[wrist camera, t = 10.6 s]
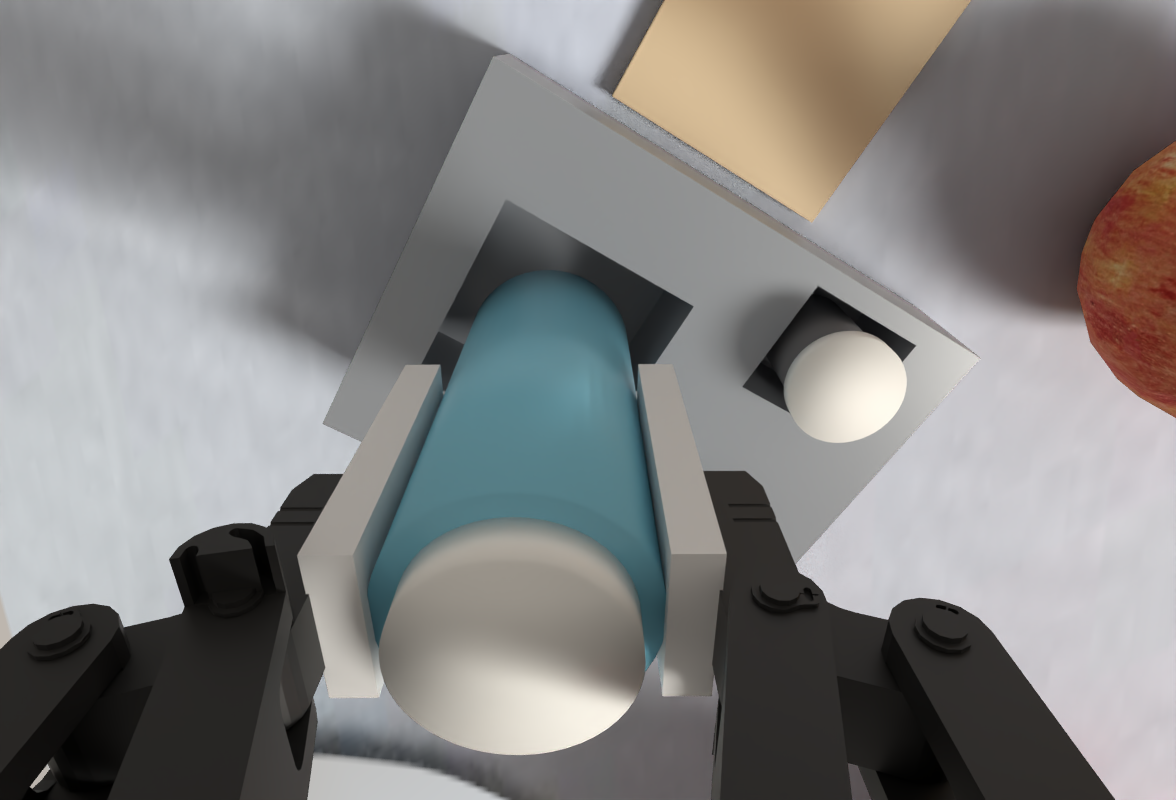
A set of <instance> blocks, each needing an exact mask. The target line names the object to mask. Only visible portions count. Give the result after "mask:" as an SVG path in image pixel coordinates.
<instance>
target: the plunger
mask: <svg viewBox="0 0 1176 800" xmlns="http://www.w3.org/2000/svg"><path fill="white" fill-rule="evenodd" d="M766 356H767V358H768V360H769V362H770V363H771V365H772V367H773V369H774V370H775V372H776V374H777V376H778V377H779V379H780V381H781V382H782V384H783V386H784V399H785V403H786V405H787V408H788V410H789V412H790V414H791V416H792V417H793V419H794V421H795V422H796V424H797V425H798V426H799V427H800V429H802V430H803V431H804V432H805V433H806V434H808V435H810V436H811V437H813V438H816V439H818V440H821V441H825V442H831V443H845V442H851V441H855V440H859V439H862V438H864V437H867V436H869V435H871V434H873V433H875V432H876V431H878V430H879V429H881V428H882V427H883V426H884V425H886V424H887V423H888V422H889V421H890V420H891V419H892V418H893V416H894V415H895V414H896V413H897V411H898V409H899V408H900V406H901V404H902V402H903V399H904V396H905V393H906V387H907V377H906V371H905V368H904V365H903V363H902V361H901V359H900V358H899V357H898V355H897V354H896V353H895V352H894V351H893V350H892V349H891V348H890V347H889V346H888V345H887V344H886V343H885V342H884V341H882V340H881V339H879V338H878V337H876V336H874V335H871V334H869V333H866V332H863V331H862V330H861V329H860V328H859V327H858V326H857V325H856V324H855V322H854V321H853V320H852V319H851V318H850V317H849V316H848V315H847V314H846V313H845V312H844V311H843V310H842V309H841V308H840V307H839V306H838V305H837V304H836V303H835V302H834V301H832V300H831V299H829V298H827V297H824V296H821V295H814V294H811V296H810V297H809V298H808V300H807V301H806V302H805V304H804V305H803V306H802V308H801V309H800V310H799V312H798V313H797V314H796V316H795V317H794V318H793V320H792V321H791V322H790V324H789V325H788V326H787V328H786V329H785V330H784V332H783V333H782V334H781V336H780V337H779V338H778V340H777V341H776V342H775V344H774V345H773V346H772V348H771V349H770V350H769V352H768V353H767V354H766Z"/></svg>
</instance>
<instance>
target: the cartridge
mask: <svg viewBox="0 0 1176 800" xmlns="http://www.w3.org/2000/svg"><path fill="white" fill-rule="evenodd" d="M367 596H368V602H369V607H370V613H371V619H372V624H373V630H374V635H375V641H376V643H377V645H378V647H379V664H380V670H381V673H382V677H383V680H384V682H385V684H386V687H387V689H388V691H389V693H390V694H391V696H392V697H393V699H394V700H395V701H396V703H397V704H398V705H399V706H400V708H401V709H402V710H403V711H404V712H405V713H406V714H407V715H408V716H409V717H410V718H412V719H413V720H414V721H415V722H416V723H417V724H419V725H420V726H422V727H423V728H425V729H426V730H428V731H429V732H431V733H433V734H435V735H437V736H438V737H440V738H442V739H444V740H447V741H449V742H452V743H454V744H456V745H459V746H463V747H466V748H469V749H472V750H477V751H482V752H487V753H494V754H503V755H531V754H541V753H548V752H553V751H557V750H561V749H566V748H569V747H572V746H574V745H577V744H580V743H583V742H585V741H587V740H589V739H591V738H593V737H595V736H597V735H598V734H600V733H602V732H603V731H605V730H606V729H608V728H609V727H610V726H611V725H613V724H614V723H615V722H616V721H618V720H619V719H620V718H621V717H622V716H623V714H624V713H625V712H626V711H627V710H628V709H629V707H630V706H631V705H632V703H633V702H634V700H635V699H636V697H637V695H638V693H639V691H640V689H641V685H642V682H643V679H644V674H645V671H646V670H647V669H648V667H649V666H650V664H651V663H652V662H653V660H654V659H655V657H656V655H657V653H658V651H659V649H660V647H661V645H662V642H663V636H664V621H665V605H666V590H665V583H664V577H663V570H662V563H661V557H660V550H659V544H658V537H657V531H656V524H655V517H654V511H653V504H652V498H651V491H650V485H649V478H648V471H647V465H646V458H645V452H644V445H643V439H642V432H641V425H640V419H639V412H638V406H637V398H636V391H635V385H634V378H633V372H632V365H631V359H630V352H629V345H628V339H627V333H626V328H625V325H624V322H623V319H622V316H621V314H620V312H619V310H618V309H617V307H616V306H615V304H614V303H613V301H612V300H611V299H610V298H609V297H608V296H607V294H606V293H605V292H604V291H602V290H601V289H600V288H599V287H597V286H596V285H595V284H593V283H591V282H590V281H588V280H586V279H584V278H582V277H580V276H578V275H574V274H571V273H568V272H563V271H557V270H539V271H532V272H528V273H524V274H521V275H518V276H515V277H513V278H511V279H509V280H507V281H506V282H504V283H503V284H501V285H500V286H498V287H497V288H496V289H495V290H494V291H493V292H492V293H490V295H489V296H488V297H487V298H486V299H485V301H484V302H483V304H482V305H481V307H480V308H479V310H478V312H477V315H476V317H475V319H474V322H473V324H472V327H471V329H470V332H469V334H468V337H467V339H466V342H465V344H464V347H463V349H462V352H461V354H460V357H459V359H458V361H457V364H456V366H455V369H454V371H453V374H452V376H451V379H450V381H449V384H448V386H447V389H446V391H445V394H444V396H443V399H442V401H441V404H440V406H439V408H438V411H437V413H436V416H435V418H434V421H433V423H432V426H431V428H430V431H429V433H428V436H427V438H426V441H425V443H424V446H423V448H422V451H421V453H420V455H419V458H418V460H417V463H416V465H415V468H414V470H413V473H412V475H411V478H410V480H409V483H408V485H407V488H406V490H405V493H404V495H403V498H402V500H401V502H400V505H399V507H398V510H397V512H396V515H395V517H394V520H393V522H392V525H391V527H390V530H389V532H388V535H387V537H386V540H385V542H384V545H383V547H382V549H381V552H380V554H379V557H378V559H377V562H376V564H375V567H374V569H373V572H372V574H371V578H370V582H369V586H368V593H367Z"/></svg>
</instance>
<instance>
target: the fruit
mask: <svg viewBox="0 0 1176 800" xmlns="http://www.w3.org/2000/svg"><path fill="white" fill-rule="evenodd" d="M1077 292H1078V295H1079V299H1080V303H1081V307H1082V311H1083V314H1084V318H1085V322H1086V326H1087V330H1088V334H1089V338H1090V342H1091V343H1092V345H1093V346H1094V348H1095V349H1096V350H1097V352H1098V353H1099V354H1100V356H1101V357H1102V359H1103V360H1104V361H1105V363H1106V364H1107V365H1108V367H1109V368H1110V369H1111V371H1112V372H1113V374H1114V375H1115V376H1116V378H1117V379H1118V380H1119V381H1120V382H1122V383H1123V384H1124V385H1125V386H1126V387H1128V388H1129V389H1130V390H1131V391H1132V392H1134V393H1135V394H1136V395H1137V396H1138V397H1140V398H1142V399H1144V400H1145V401H1147V402H1149V403H1151V404H1152V405H1154V406H1156V407H1158V408H1159V409H1161V410H1163V411H1165V412H1166V413H1168V414H1170V415H1172V416H1173V417H1175V418H1176V141H1175V142H1173V143H1172V144H1170V145H1169V146H1168V147H1166V148H1165V149H1163V150H1162V151H1161V152H1159V153H1158V154H1156V155H1155V156H1154V157H1152V158H1151V159H1149V160H1148V161H1147V162H1145V163H1144V164H1142V165H1141V166H1139V167H1138V168H1137V169H1135V170H1134V171H1133V172H1132V173H1131V174H1130V176H1129V177H1128V178H1127V179H1126V181H1125V182H1124V183H1123V185H1122V186H1121V187H1120V188H1119V190H1118V191H1117V192H1116V193H1115V195H1114V196H1113V197H1112V198H1111V200H1110V201H1109V202H1108V203H1107V205H1106V206H1105V207H1104V208H1103V210H1102V211H1101V212H1100V213H1099V215H1098V216H1097V217H1096V219H1095V221H1094V223H1093V225H1092V227H1091V230H1090V232H1089V235H1088V238H1087V240H1086V243H1085V246H1084V248H1083V251H1082V254H1081V262H1080V269H1079V276H1078V284H1077Z"/></svg>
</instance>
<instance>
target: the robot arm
mask: <svg viewBox="0 0 1176 800" xmlns="http://www.w3.org/2000/svg"><path fill="white" fill-rule="evenodd" d="M442 399H443V387H442V377H441V367H440V365H405V367H404V369H403V371H402V372H401V374H400V376H399V378H398V379H397V381H396V383H395V385H394V386H393V388H392V390H391V392H390V393H389V395H388V397H387V399H386V400H385V402H384V404H383V406H382V407H381V409H380V411H379V413H378V414H377V416H376V418H375V420H374V421H373V423H372V425H371V427H370V428H369V430H368V432H367V434H366V435H365V437H364V439H363V441H362V442H361V444H360V446H359V448H358V449H357V451H356V453H355V455H354V457H353V458H352V460H351V462H350V464H349V465H348V467H347V469H346V471H345V472H344V474H313V475H312V476H311V477H309V478H308V479H306V480H305V481H304V482H302V483H301V484H299V485H298V486H297V487H295V488H294V489H293V490H292V491H291V492H290V494H289V495H288V497H287V498H286V500H285V501H284V503H283V504H282V506H281V507H280V511H278V512H277V513H276V515H275V516H274V518H273V519H272V521H271V525H270V526H268V527H267V528H266V527H264V526H260V525H256V524H252V523H236V524H229V525H224V526H220V527H216V528H212V529H210V530H207V531H205V532H203V533H200V534H198V535H196V536H194V537H192V538H191V539H189V540H188V541H186V542H185V543H184V544H182V545H181V546H179V547H178V548H177V550H176V551H175V552H174V554H173V555H172V556H171V557H170V559H169V560H170V563H171V567H172V570H173V573H174V576H175V579H176V582H177V585H178V588H179V591H180V594H181V597H182V600H183V603H184V606H185V607H184V610H183V612H182V614H179V615H175V616H172V617H168V618H164V619H159V620H155V621H150V622H146V623H141V624H137V625H132V626H128V627H123V625H122V622H121V619H120V617H119V614H118V613H117V612H115V611H114V610H113V609H112V608H111V607H109V606H104V605H98V604H87V605H79V606H72V607H69V608H66V609H63V610H59V611H56V612H53V613H50V614H48V615H47V616H45V617H43V618H41V619H39V620H37V621H35V622H33V623H31V624H29V625H28V626H27V627H25V628H24V629H23V630H22V631H20V632H19V633H18V634H16V635H15V636H14V637H13V638H11V639H10V640H9V641H8V642H7V643H6V644H5V645H4V646H3V647H2V648H1V649H0V800H307V797H308V789H309V782H310V775H311V767H312V760H313V752H314V745H315V737H316V730H317V723H318V721H317V713H316V707H315V703H314V699H313V696H314V694H315V691H316V689H317V687H318V684H319V682H320V679H321V677H322V675H323V672H324V676H325V681H326V685H327V690H328V694H329V698H379V696H380V693H381V690H382V687H383V683H384V680H383V677H382V673H381V670H380V664H379V647H378V645H377V643H376V641H375V635H374V630H373V624H372V619H371V613H370V607H369V602H368V596H367V593H368V586H369V582H370V578H371V574H372V572H373V569H374V567H375V564H376V562H377V559H378V557H379V554H380V552H381V549H382V547H383V545H384V542H385V540H386V537H387V535H388V532H389V530H390V527H391V525H392V522H393V520H394V517H395V515H396V512H397V510H398V507H399V505H400V502H401V500H402V498H403V495H404V493H405V490H406V488H407V485H408V483H409V480H410V478H411V475H412V473H413V470H414V468H415V465H416V463H417V460H418V458H419V455H420V453H421V451H422V448H423V446H424V443H425V441H426V438H427V436H428V433H429V431H430V428H431V426H432V423H433V421H434V418H435V416H436V413H437V411H438V408H439V406H440V404H441V401H442ZM637 406H638V412H639V419H640V425H641V432H642V439H643V445H644V452H645V458H646V465H647V471H648V478H649V485H650V491H651V498H652V504H653V511H654V517H655V524H656V531H657V537H658V544H659V550H660V557H661V563H662V570H663V577H664V583H665V590H666V605H665V621H664V636H663V642H662V645H661V647H660V649H659V651H658V653H657V658H658V666H659V674H660V682H661V690H662V696H712V687H713V678H714V675H715V680H716V685H717V690H718V694H719V699H718V707H717V716H716V725H715V733H714V742H713V751H712V755H714V760H713V775H712V791H711V800H852V795H851V787H850V779H849V771H848V763H851V764H855V765H858V767H859V770H860V772H861V775H862V777H863V780H864V782H865V785H866V787H867V790H868V792H869V794H870V797H871V799H872V800H1115V799H1114V797H1113V796H1112V795H1111V793H1110V792H1109V791H1108V789H1107V788H1106V786H1105V785H1104V784H1103V782H1102V781H1101V780H1100V778H1099V777H1098V776H1097V774H1096V773H1095V771H1094V770H1093V769H1092V767H1091V766H1090V765H1089V763H1088V762H1087V761H1086V759H1085V758H1084V756H1083V755H1082V754H1081V752H1080V751H1079V750H1078V748H1077V747H1076V746H1075V744H1074V743H1073V741H1072V740H1071V739H1070V737H1069V736H1068V735H1067V733H1066V732H1065V731H1064V729H1063V728H1062V726H1061V725H1060V724H1059V722H1058V721H1057V720H1056V718H1055V717H1054V716H1053V714H1052V713H1051V711H1050V710H1049V709H1048V707H1047V706H1046V705H1045V703H1044V702H1043V700H1042V699H1041V698H1040V696H1039V695H1038V694H1037V692H1036V691H1035V690H1034V688H1033V687H1032V685H1031V684H1030V683H1029V681H1028V680H1027V679H1026V677H1025V676H1024V675H1023V673H1022V672H1021V670H1020V669H1019V668H1018V666H1017V665H1016V664H1015V662H1014V661H1013V660H1012V658H1011V657H1010V655H1009V654H1008V653H1007V651H1006V650H1005V649H1004V647H1003V646H1002V645H1001V643H1000V642H999V640H998V639H997V638H996V636H995V635H994V634H993V632H992V631H991V630H990V629H989V628H988V627H987V626H986V625H985V624H984V623H983V622H982V621H981V620H980V619H979V618H978V617H976V616H974V615H973V614H971V613H969V612H967V611H966V610H964V609H962V608H961V607H959V606H956V605H953V604H950V603H947V602H944V601H941V600H935V599H926V598H916V599H910V600H904V601H902V602H901V603H899V604H898V605H897V606H895V607H894V608H893V609H892V611H891V614H890V617H889V620H886V619H881V618H877V617H873V616H868V615H864V614H859V613H855V612H852V611H848V610H845V609H842V608H839V607H837V606H835V605H833V604H830V603H828V602H827V601H826V598H825V596H824V593H823V591H822V590H821V589H820V588H819V587H818V586H817V585H816V584H815V583H814V582H813V581H812V580H811V579H809V578H807V577H805V576H804V575H802V574H800V573H799V572H798V570H797V567H796V565H795V562H794V560H793V557H792V555H791V553H790V550H789V548H788V545H787V543H786V541H785V538H784V536H783V533H782V531H781V529H780V526H779V524H778V522H776V516H775V514H774V512H773V509H772V507H770V502H769V500H768V497H767V495H766V492H765V490H764V487H763V486H762V485H761V484H760V483H759V482H758V481H757V480H755V479H754V478H753V477H752V476H751V475H750V474H749V473H747V472H746V471H703V469H702V465H701V462H700V458H699V455H698V451H697V448H696V444H695V441H694V437H693V434H692V430H691V427H690V423H689V420H688V416H687V413H686V409H685V406H684V402H683V399H682V395H681V392H680V388H679V385H678V381H677V378H676V374H675V371H674V367H673V364H638V384H637ZM847 762H848V763H847ZM47 764H48V766H49V768H50V770H49V771H48V772H47V774H46V775H45V776H44V778H43V779H42V780H41V781H40V782H39V783H38V784H37V785H36V786H35V787H34V788H33V789H32V788H30V786H31V784H32V783H33V782H34V780H35V779H36V778H37V777H38V775H39V774H40V773H41V771H42V770H43V769H44V768H45V766H46V765H47Z"/></svg>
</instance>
